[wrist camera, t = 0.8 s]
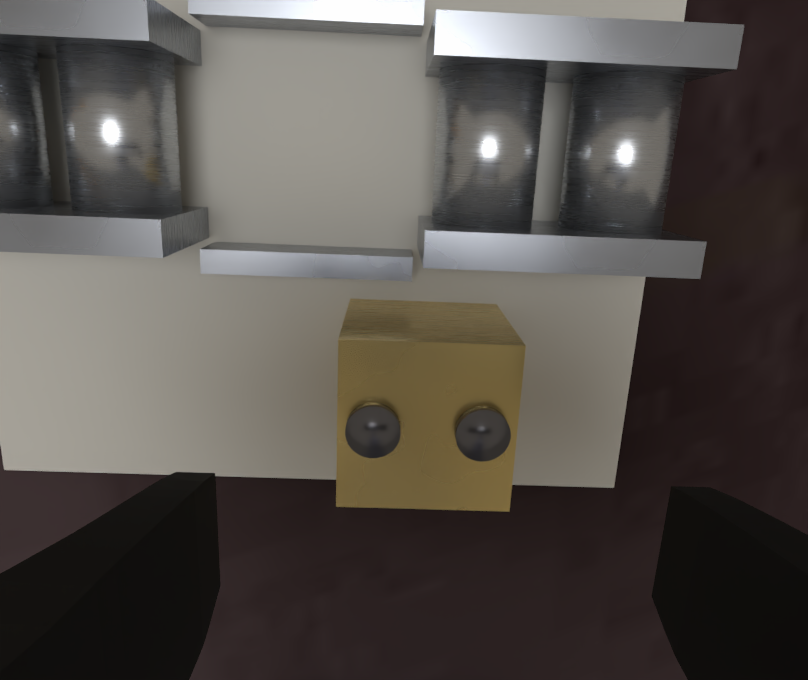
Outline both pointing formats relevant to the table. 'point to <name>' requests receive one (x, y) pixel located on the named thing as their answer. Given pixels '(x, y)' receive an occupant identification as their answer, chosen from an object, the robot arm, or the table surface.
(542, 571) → the table surface
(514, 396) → the tan knob cube
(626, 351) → the mat
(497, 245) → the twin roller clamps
